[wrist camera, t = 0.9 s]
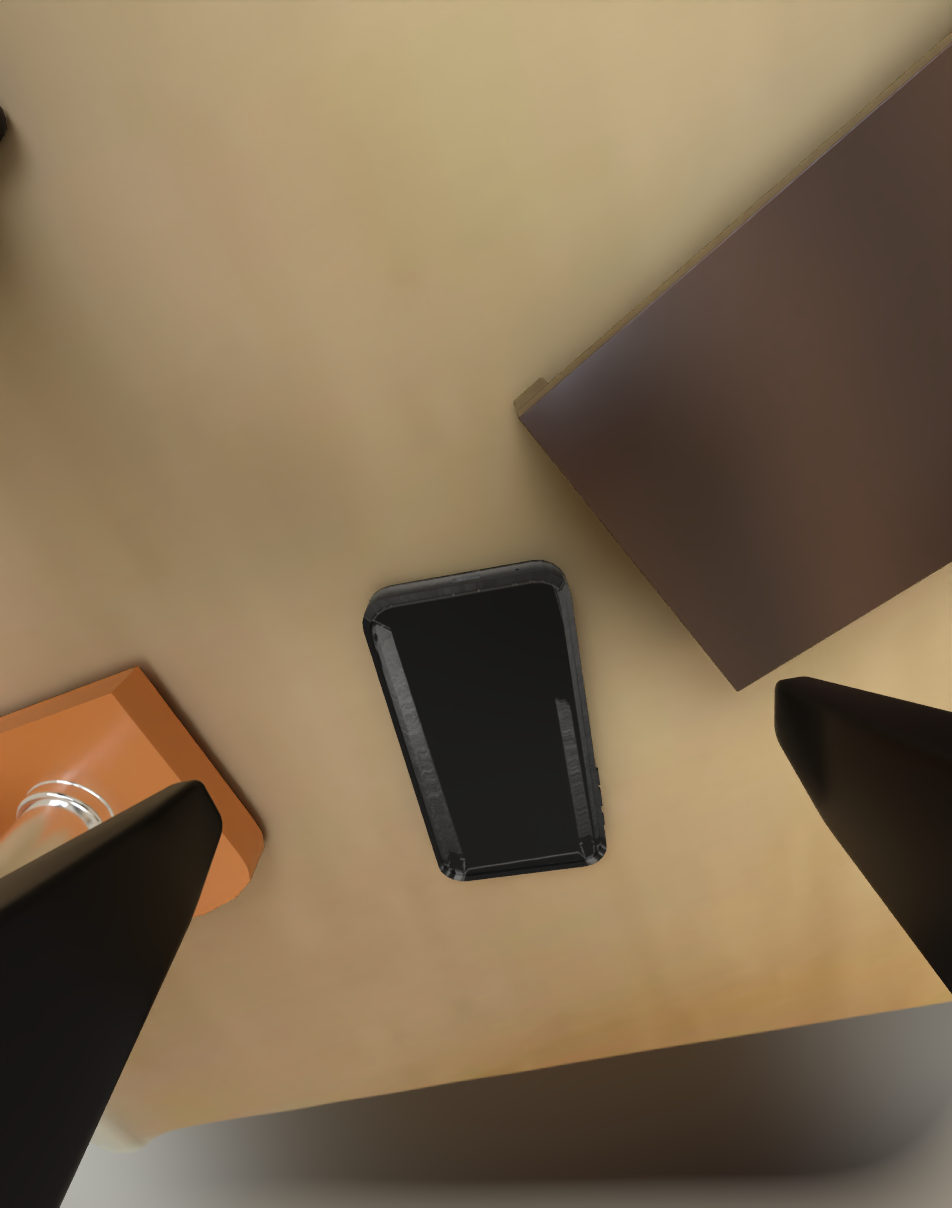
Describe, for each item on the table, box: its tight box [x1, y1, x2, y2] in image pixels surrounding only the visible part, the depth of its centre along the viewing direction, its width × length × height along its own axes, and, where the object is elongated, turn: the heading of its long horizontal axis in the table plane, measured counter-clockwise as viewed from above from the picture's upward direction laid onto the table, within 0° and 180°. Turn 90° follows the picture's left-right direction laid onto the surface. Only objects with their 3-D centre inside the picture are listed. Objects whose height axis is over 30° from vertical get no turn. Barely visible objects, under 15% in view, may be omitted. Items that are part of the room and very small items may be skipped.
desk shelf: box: [514, 32, 952, 691], centre depth 17 cm, size 18×12×4 cm, turn 131°
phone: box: [362, 560, 607, 881], centre depth 25 cm, size 8×1×15 cm
